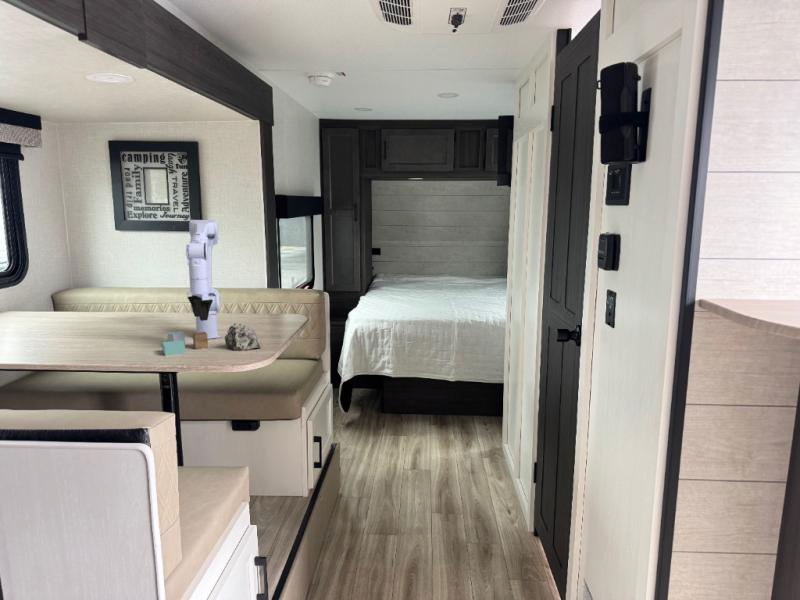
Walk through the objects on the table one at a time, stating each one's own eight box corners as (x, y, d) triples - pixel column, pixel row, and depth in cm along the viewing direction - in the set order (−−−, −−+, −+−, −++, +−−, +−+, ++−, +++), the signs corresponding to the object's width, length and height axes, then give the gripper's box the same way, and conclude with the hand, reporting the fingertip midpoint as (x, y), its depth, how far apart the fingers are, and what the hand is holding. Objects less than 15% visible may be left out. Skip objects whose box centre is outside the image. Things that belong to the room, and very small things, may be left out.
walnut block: (193, 347, 182) (192, 332, 182) (205, 345, 184) (205, 331, 184) (195, 349, 179) (194, 335, 178) (208, 348, 181) (207, 333, 180)
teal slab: (162, 352, 176) (162, 342, 175) (182, 350, 179) (181, 340, 178) (165, 356, 171) (164, 346, 170) (185, 354, 174) (184, 344, 173)
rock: (224, 358, 174) (241, 335, 172) (215, 339, 180) (231, 317, 178) (256, 365, 184) (272, 344, 182) (246, 348, 190) (262, 327, 188)
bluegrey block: (168, 347, 182) (167, 332, 181) (179, 344, 185) (178, 331, 184) (174, 349, 180) (173, 334, 179) (185, 346, 183) (184, 332, 182)
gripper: (181, 277, 181) (183, 316, 183) (191, 281, 169) (194, 323, 171) (202, 275, 185) (204, 313, 187) (214, 280, 173) (216, 321, 175)
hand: (201, 318), depth 179 cm, fingers open, 7 cm apart
